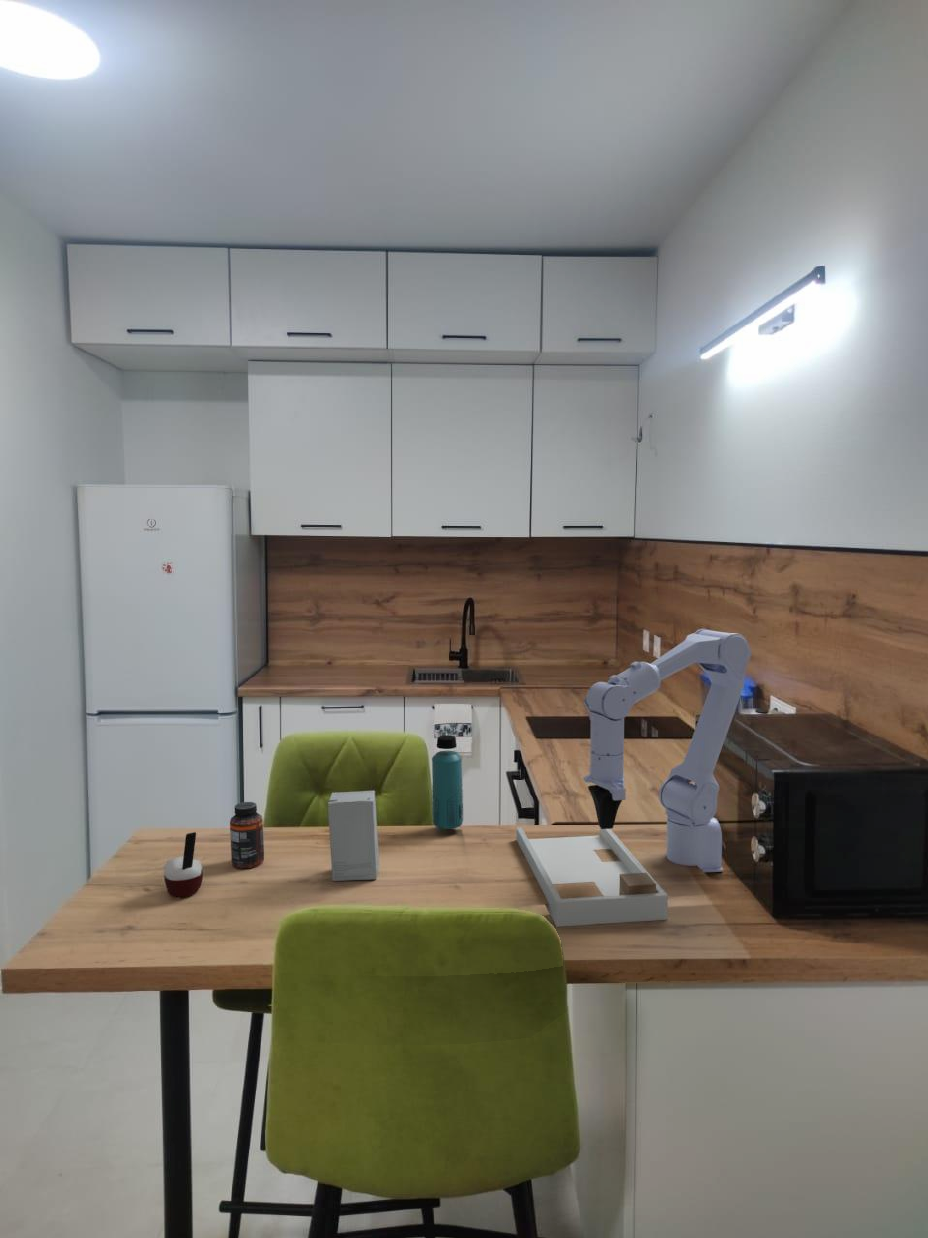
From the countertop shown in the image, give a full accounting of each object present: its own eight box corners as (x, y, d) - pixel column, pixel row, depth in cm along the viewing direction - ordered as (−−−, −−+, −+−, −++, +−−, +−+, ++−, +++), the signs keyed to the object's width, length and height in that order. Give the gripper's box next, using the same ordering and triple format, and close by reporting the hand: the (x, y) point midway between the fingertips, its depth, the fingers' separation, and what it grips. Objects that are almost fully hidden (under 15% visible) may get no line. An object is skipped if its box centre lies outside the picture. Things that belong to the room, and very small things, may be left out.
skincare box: (379, 868, 147) (377, 789, 145) (376, 881, 141) (375, 800, 139) (333, 868, 146) (331, 790, 145) (329, 882, 140) (327, 800, 139)
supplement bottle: (258, 855, 153) (256, 797, 152) (268, 865, 148) (267, 806, 147) (227, 861, 150) (225, 803, 149) (237, 872, 145) (235, 812, 144)
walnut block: (645, 896, 131) (646, 872, 131) (655, 908, 127) (655, 884, 126) (619, 897, 131) (619, 874, 130) (628, 910, 126) (628, 885, 126)
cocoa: (167, 887, 140) (162, 821, 139) (205, 882, 141) (200, 816, 141) (162, 909, 130) (157, 837, 130) (202, 903, 132) (197, 832, 131)
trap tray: (605, 842, 159) (605, 823, 158) (667, 919, 126) (667, 895, 126) (516, 847, 156) (516, 827, 156) (556, 926, 124) (556, 902, 123)
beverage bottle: (463, 836, 162) (462, 740, 161) (430, 836, 163) (430, 740, 161) (463, 825, 169) (463, 732, 167) (432, 825, 169) (431, 732, 167)
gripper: (573, 742, 145) (573, 814, 146) (596, 763, 130) (595, 844, 132) (611, 740, 145) (610, 812, 147) (638, 762, 131) (636, 841, 132)
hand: (606, 827), depth 139 cm, fingers closed
